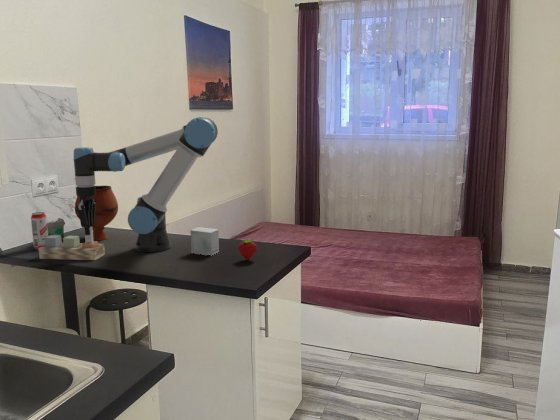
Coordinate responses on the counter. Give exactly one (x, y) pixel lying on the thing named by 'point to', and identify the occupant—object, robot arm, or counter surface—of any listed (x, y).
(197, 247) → the skincare box
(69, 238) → the sage-green button
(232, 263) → the counter surface
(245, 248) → the strawberry
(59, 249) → the button panel
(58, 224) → the food container
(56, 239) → the light blue block
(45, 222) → the beer can
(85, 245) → the terracotta button
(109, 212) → the goblet
